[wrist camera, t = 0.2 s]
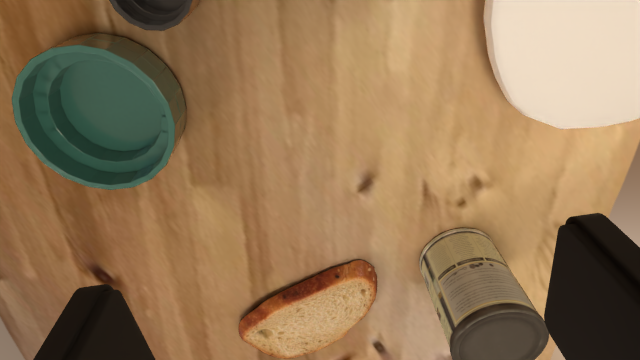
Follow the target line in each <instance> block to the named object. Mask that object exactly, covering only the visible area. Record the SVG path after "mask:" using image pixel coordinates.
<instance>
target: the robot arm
mask: <svg viewBox="0 0 640 360" xmlns="http://www.w3.org/2000/svg"><path fill="white" fill-rule="evenodd" d="M544 319H545V324H546V327H547V330H548V332H549V334H550V335H551V337H552V339H553V340H554V342H555V343H556V345H557V346H558V348H559V349H560V351H561V353H562V354H563V356H564V357H565V359H566V360H640V247H638V246H637V245H636V244H635V243H634V242H633V241H632V240H631V239H630V238H629V237H628V236H627V235H625V234H624V233H623V232H622V231H621V230H620V229H619V228H618V227H617V226H616V225H615V224H614V223H612V222H611V221H610V220H609V219H608V218H607V217H606V216H604V215H603V214H600V213H595V214H588V215H581V216H574V217H570V218H568V220H567V221H566V224H565V225H562V226H560V228H559V230H558V235H557V241H556V247H555V253H554V259H553V265H552V271H551V277H550V283H549V290H548V296H547V302H546V308H545V314H544ZM33 360H155V358H154V356H153V354H152V352H151V350H150V348H149V346H148V344H147V342H146V340H145V338H144V336H143V335H142V333H141V331H140V329H139V327H138V325H137V323H136V321H135V319H134V317H133V315H132V313H131V311H130V309H129V307H128V305H127V303H126V301H125V299H124V298H123V296H122V294H121V292H120V291H119V290H113V288H112V287H111V286H110V285H108V284H104V285H97V286H90V287H83V288H79V289H77V290H76V291H75V293H74V294H73V296H72V297H71V299H70V300H69V302H68V304H67V305H66V307H65V309H64V310H63V312H62V314H61V315H60V317H59V318H58V320H57V322H56V323H55V325H54V327H53V328H52V330H51V332H50V333H49V335H48V336H47V338H46V340H45V341H44V343H43V345H42V346H41V348H40V350H39V351H38V353H37V355H36V356H35V358H34V359H33Z"/></svg>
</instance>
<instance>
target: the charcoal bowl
mask: <svg viewBox="0 0 640 360" xmlns="http://www.w3.org/2000/svg"><path fill="white" fill-rule="evenodd" d="M109 1H110V2H111V4H112V6H113V8H114V9H115V10H116V11H117V12H118V13H119V14H120V15H121V16H122V17H123V18H124V19H126V20H127V21H128V22H129V23H131V24H133V25H135V26H138V27H140V28H142V29H145V30H158V31H163V30H166V29H168V28H171V27H173V26H176V25H178V24H179V23H180V22H182V21H183V20H184V19H185V18H186V17H188V16H189V15H190V14H191V13H192V12H193V11H194V9H195V8H196V7H197V6H198V5H199V2H200V0H109Z"/></svg>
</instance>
